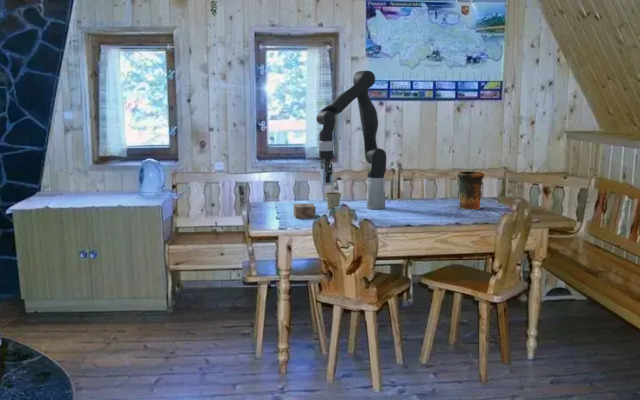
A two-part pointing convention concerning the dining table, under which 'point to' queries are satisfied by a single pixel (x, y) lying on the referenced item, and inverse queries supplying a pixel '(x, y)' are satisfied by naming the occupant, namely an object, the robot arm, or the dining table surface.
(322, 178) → the light grey block
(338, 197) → the flower pot
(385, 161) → the robot arm
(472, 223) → the dining table surface
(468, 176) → the vessel
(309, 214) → the walnut box
